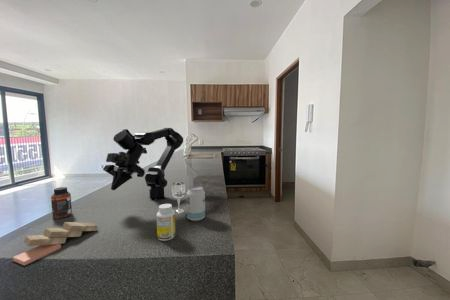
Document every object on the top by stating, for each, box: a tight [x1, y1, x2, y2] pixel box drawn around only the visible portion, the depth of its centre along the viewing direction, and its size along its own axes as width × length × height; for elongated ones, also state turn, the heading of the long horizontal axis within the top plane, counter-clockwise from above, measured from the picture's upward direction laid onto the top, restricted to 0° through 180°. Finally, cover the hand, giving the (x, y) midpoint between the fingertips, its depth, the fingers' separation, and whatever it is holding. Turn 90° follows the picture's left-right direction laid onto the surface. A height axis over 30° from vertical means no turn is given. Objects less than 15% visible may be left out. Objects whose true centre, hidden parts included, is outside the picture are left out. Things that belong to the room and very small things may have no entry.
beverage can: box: [186, 185, 206, 222], centre depth 74 cm, size 7×7×12 cm
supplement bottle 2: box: [156, 203, 176, 242], centre depth 61 cm, size 6×6×10 cm
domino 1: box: [23, 234, 68, 247], centre depth 55 cm, size 2×5×8 cm
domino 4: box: [62, 221, 99, 232], centre depth 63 cm, size 2×5×8 cm
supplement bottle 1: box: [50, 186, 73, 219], centre depth 76 cm, size 6×6×11 cm
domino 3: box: [42, 227, 83, 238], centre depth 59 cm, size 2×5×8 cm
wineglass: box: [171, 181, 187, 214], centre depth 81 cm, size 6×6×12 cm
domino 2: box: [12, 244, 62, 267], centre depth 52 cm, size 2×5×8 cm
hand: (112, 189), depth 74 cm, fingers closed
